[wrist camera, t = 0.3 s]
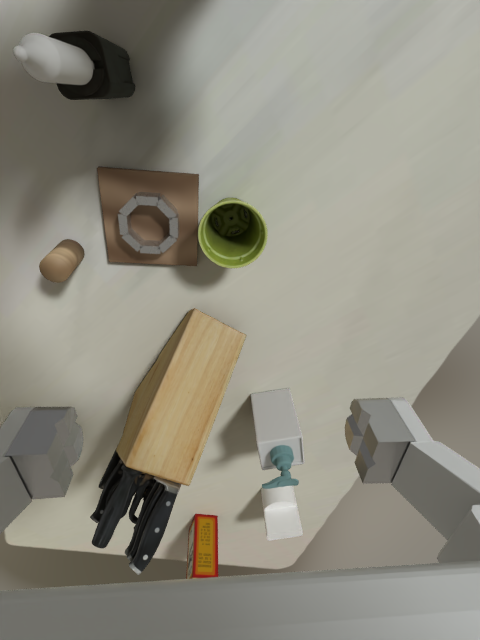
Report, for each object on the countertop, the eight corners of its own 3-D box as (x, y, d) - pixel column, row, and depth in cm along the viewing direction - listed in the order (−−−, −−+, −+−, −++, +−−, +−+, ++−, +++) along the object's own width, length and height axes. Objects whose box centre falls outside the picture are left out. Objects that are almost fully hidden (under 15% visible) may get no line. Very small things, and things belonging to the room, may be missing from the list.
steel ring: (119, 190, 50) (115, 194, 48) (178, 194, 51) (177, 198, 49) (125, 246, 54) (122, 252, 52) (179, 249, 55) (178, 254, 53)
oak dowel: (55, 238, 54) (36, 256, 48) (82, 240, 54) (66, 257, 49) (60, 262, 56) (42, 281, 50) (86, 263, 57) (71, 283, 51)
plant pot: (212, 253, 57) (212, 276, 50) (190, 197, 52) (187, 214, 45) (266, 235, 56) (274, 256, 49) (250, 177, 51) (256, 190, 44)
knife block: (114, 417, 76) (64, 583, 50) (194, 298, 61) (181, 447, 36) (161, 434, 80) (136, 595, 54) (246, 326, 65) (269, 477, 39)
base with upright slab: (262, 500, 98) (268, 546, 88) (259, 482, 93) (264, 528, 83) (294, 495, 98) (303, 541, 88) (292, 477, 93) (301, 523, 83)
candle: (136, 96, 45) (70, 96, 24) (97, 99, 45) (-5, 103, 24) (127, 46, 42) (42, -4, 21) (85, 49, 42) (-43, 3, 21)
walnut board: (99, 166, 49) (96, 167, 48) (198, 174, 50) (198, 175, 49) (110, 259, 56) (109, 261, 56) (197, 263, 58) (196, 266, 57)
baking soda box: (209, 532, 106) (209, 595, 92) (188, 530, 104) (185, 594, 91) (217, 515, 101) (218, 579, 88) (195, 513, 100) (192, 578, 86)
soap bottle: (249, 393, 75) (259, 474, 59) (289, 387, 75) (310, 466, 59) (254, 420, 80) (265, 501, 64) (292, 414, 80) (312, 494, 64)
